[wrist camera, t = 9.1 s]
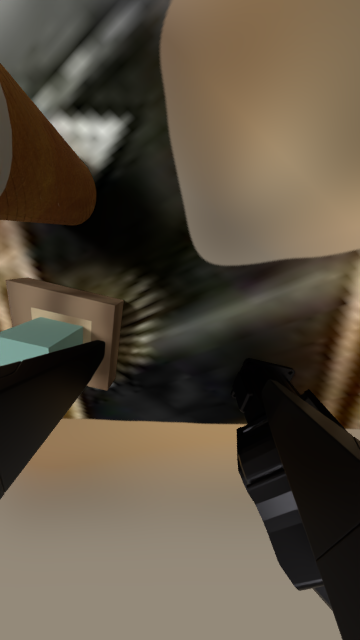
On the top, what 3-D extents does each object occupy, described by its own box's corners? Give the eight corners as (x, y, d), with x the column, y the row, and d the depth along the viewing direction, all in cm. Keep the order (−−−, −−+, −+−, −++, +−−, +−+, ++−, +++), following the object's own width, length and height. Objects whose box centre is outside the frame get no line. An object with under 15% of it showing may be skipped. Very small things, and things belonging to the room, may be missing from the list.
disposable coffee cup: (79, 260, 19) (-77, 263, 8) (4, 191, 17) (-336, 68, 6) (131, 189, 17) (5, 45, 5) (49, 98, 15) (-407, -417, 4)
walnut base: (123, 300, 21) (114, 305, 18) (115, 378, 25) (107, 390, 22) (27, 277, 20) (5, 280, 18) (35, 359, 25) (18, 370, 22)
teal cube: (83, 326, 19) (48, 347, 15) (82, 362, 21) (51, 391, 16) (40, 316, 19) (-9, 335, 15) (43, 353, 21) (0, 380, 16)
